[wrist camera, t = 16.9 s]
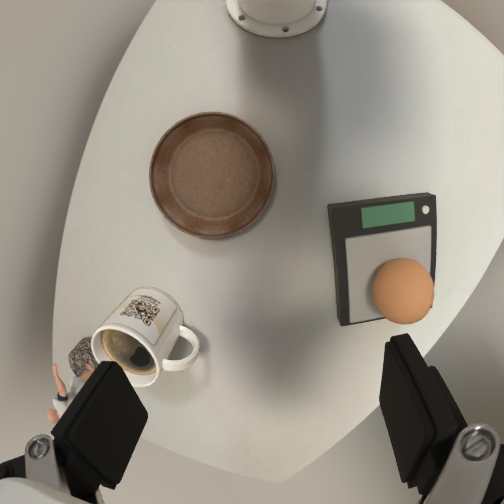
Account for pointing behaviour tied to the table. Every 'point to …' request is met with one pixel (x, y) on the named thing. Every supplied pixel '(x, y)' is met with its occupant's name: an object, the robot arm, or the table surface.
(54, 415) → the figurine
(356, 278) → the scale
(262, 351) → the table surface
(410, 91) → the table surface
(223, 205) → the saucer
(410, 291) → the egg
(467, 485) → the robot arm
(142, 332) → the mug
